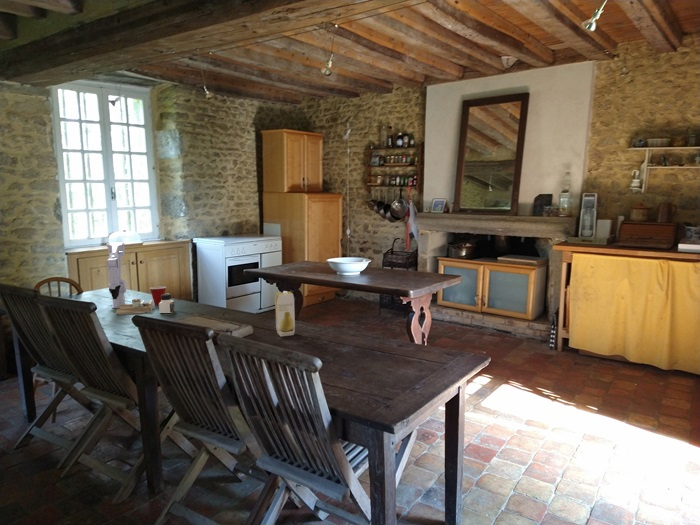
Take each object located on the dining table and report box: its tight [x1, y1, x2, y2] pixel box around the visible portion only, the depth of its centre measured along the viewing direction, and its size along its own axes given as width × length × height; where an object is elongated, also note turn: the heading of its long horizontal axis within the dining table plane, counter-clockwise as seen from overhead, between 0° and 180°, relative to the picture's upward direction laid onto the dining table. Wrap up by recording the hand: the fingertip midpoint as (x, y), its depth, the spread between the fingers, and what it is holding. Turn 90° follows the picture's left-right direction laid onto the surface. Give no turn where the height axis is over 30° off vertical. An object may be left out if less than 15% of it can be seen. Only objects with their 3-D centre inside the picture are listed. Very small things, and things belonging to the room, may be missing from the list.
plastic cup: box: [149, 285, 167, 306], centre depth 333 cm, size 11×11×12 cm
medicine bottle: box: [158, 293, 175, 314], centre depth 310 cm, size 7×7×12 cm
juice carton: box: [274, 290, 296, 337], centre depth 262 cm, size 9×8×24 cm
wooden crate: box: [115, 299, 154, 316], centre depth 314 cm, size 12×20×6 cm, turn 106°
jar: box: [131, 298, 142, 308], centre depth 314 cm, size 5×5×7 cm
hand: (115, 297), depth 313 cm, fingers open, 7 cm apart
